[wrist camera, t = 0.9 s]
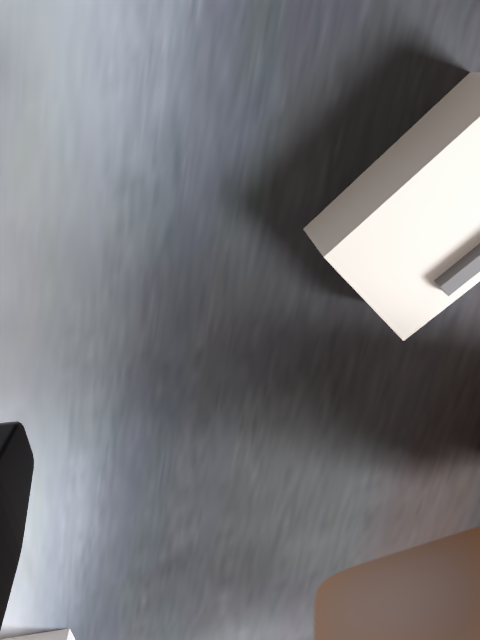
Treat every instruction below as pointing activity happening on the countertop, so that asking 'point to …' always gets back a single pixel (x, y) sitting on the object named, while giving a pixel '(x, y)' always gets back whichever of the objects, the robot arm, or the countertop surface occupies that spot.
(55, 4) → the countertop surface
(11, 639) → the milk
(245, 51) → the countertop surface
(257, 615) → the countertop surface
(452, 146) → the door
